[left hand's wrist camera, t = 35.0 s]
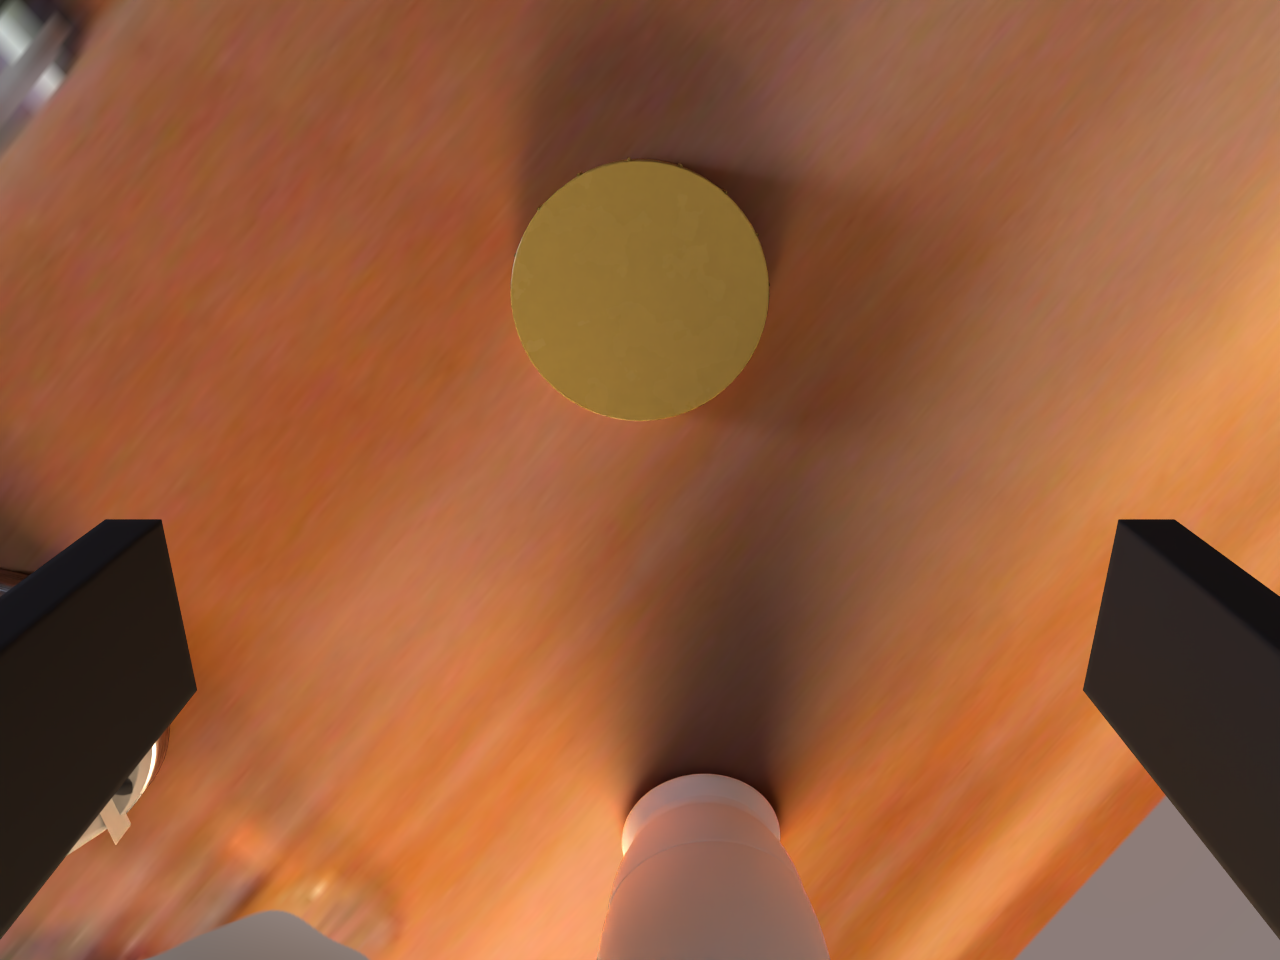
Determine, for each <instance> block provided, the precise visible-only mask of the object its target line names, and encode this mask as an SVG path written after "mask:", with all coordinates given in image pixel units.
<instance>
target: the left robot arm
mask: <svg viewBox="0 0 1280 960" xmlns="http://www.w3.org/2000/svg"><path fill="white" fill-rule="evenodd" d="M196 691H197V688H196V683H195V678H194V674H193V669H192V664H191V659H190V654H189V650H188V645H187V640H186V635H185V630H184V626H183V621H182V616H181V611H180V606H179V602H178V597H177V592H176V587H175V582H174V578H173V573H172V568H171V563H170V558H169V554H168V549H167V544H166V539H165V534H164V530H163V525H162V520H104V521H103V522H101V523H100V524H99V525H97V526H96V527H95V528H93V529H92V530H91V531H89V532H88V533H86V534H85V535H84V536H82V537H81V538H80V539H78V540H77V541H76V542H74V543H73V544H71V545H70V546H69V547H67V548H66V549H65V550H63V551H62V552H60V553H59V554H58V555H56V556H55V557H54V558H52V559H51V560H50V561H48V562H47V563H45V564H44V565H43V566H41V567H40V568H39V569H37V570H36V571H35V572H33V573H32V574H30V575H26V574H22V573H18V572H13V571H7V570H2V569H0V939H1V938H2V937H3V935H4V934H5V933H6V932H7V930H8V929H9V928H10V927H11V925H12V924H13V923H14V922H15V920H16V919H17V918H18V916H19V915H20V914H21V913H22V911H23V910H24V909H25V908H26V906H27V905H28V904H29V903H30V901H31V900H32V899H33V897H34V896H35V895H36V894H37V892H38V891H39V890H40V889H41V887H42V886H43V885H44V883H45V882H46V881H47V880H48V878H49V877H50V876H51V875H52V873H53V872H54V871H55V870H56V868H57V867H58V866H59V864H60V863H61V862H62V861H63V859H64V858H65V857H66V856H67V855H69V854H70V853H72V852H73V851H75V850H76V849H78V848H79V847H81V846H82V845H84V844H85V843H87V842H88V841H90V840H91V839H93V838H95V837H96V836H98V835H99V834H101V833H102V832H104V831H105V830H106V829H108V831H109V833H110V835H111V837H112V839H113V841H114V843H115V845H116V844H117V843H118V842H119V840H120V839H121V838H122V836H123V835H124V834H125V832H126V831H127V829H128V828H129V827H130V825H131V823H130V821H129V819H128V817H127V815H126V813H127V812H128V811H129V810H130V809H131V808H132V807H133V806H134V804H135V803H136V802H137V801H138V799H139V798H140V797H141V795H142V794H143V793H144V791H145V790H146V789H147V787H148V786H149V785H150V783H151V782H152V781H153V779H154V778H155V776H156V774H157V773H158V771H159V769H160V767H161V765H162V763H163V760H164V758H165V754H166V751H167V747H168V741H169V726H170V724H171V722H172V721H173V720H174V719H175V717H176V716H177V715H178V713H179V712H180V711H181V710H182V708H183V707H184V706H185V705H186V703H187V702H188V701H189V700H190V698H191V697H192V696H193V694H194V693H195V692H196ZM1083 691H1084V692H1085V693H1086V694H1087V696H1088V697H1089V698H1090V700H1091V701H1092V702H1093V703H1094V705H1095V706H1096V707H1097V708H1098V710H1099V711H1100V712H1101V713H1102V715H1103V716H1104V717H1105V719H1106V720H1107V721H1108V722H1109V724H1110V725H1111V726H1112V727H1113V729H1114V730H1115V731H1116V733H1117V734H1118V735H1119V736H1120V738H1121V739H1122V740H1123V741H1124V743H1125V744H1126V745H1127V746H1128V748H1129V749H1130V750H1131V752H1132V753H1133V754H1134V755H1135V757H1136V758H1137V759H1138V760H1139V762H1140V763H1141V764H1142V766H1143V767H1144V768H1145V769H1146V771H1147V772H1148V773H1149V774H1150V776H1151V777H1152V778H1153V779H1154V781H1155V782H1156V783H1157V785H1158V786H1159V787H1160V788H1161V790H1162V791H1163V792H1164V793H1165V795H1166V796H1167V797H1168V798H1169V800H1170V801H1171V802H1172V804H1173V805H1174V806H1175V807H1176V809H1177V810H1178V811H1179V812H1180V814H1181V815H1182V816H1183V817H1184V819H1185V820H1186V821H1187V823H1188V824H1189V825H1190V826H1191V828H1192V829H1193V830H1194V831H1195V833H1196V834H1197V835H1198V837H1199V838H1200V839H1201V840H1202V842H1203V843H1204V844H1205V845H1206V847H1207V848H1208V849H1209V850H1210V852H1211V853H1212V854H1213V856H1214V857H1215V858H1216V859H1217V861H1218V862H1219V863H1220V864H1221V866H1222V867H1223V868H1224V869H1225V871H1226V872H1227V873H1228V875H1229V876H1230V877H1231V878H1232V880H1233V881H1234V882H1235V883H1236V885H1237V886H1238V887H1239V889H1240V890H1241V891H1242V892H1243V894H1244V895H1245V896H1246V897H1247V899H1248V900H1249V901H1250V903H1251V904H1252V905H1253V906H1254V908H1255V909H1256V910H1257V911H1258V913H1259V914H1260V915H1261V916H1262V918H1263V919H1264V920H1265V922H1266V923H1267V924H1268V925H1269V927H1270V928H1271V929H1272V930H1273V932H1274V933H1275V934H1276V935H1277V937H1278V938H1279V939H1280V596H1278V595H1277V594H1275V593H1274V592H1273V591H1271V590H1270V589H1269V588H1267V587H1266V586H1265V585H1263V584H1262V583H1260V582H1259V581H1258V580H1256V579H1255V578H1254V577H1252V576H1251V575H1250V574H1248V573H1247V572H1245V571H1244V570H1243V569H1241V568H1240V567H1239V566H1237V565H1236V564H1235V563H1233V562H1232V561H1230V560H1229V559H1228V558H1226V557H1225V556H1224V555H1222V554H1221V553H1220V552H1218V551H1217V550H1215V549H1214V548H1213V547H1211V546H1210V545H1209V544H1207V543H1206V542H1204V541H1203V540H1202V539H1200V538H1199V537H1198V536H1196V535H1195V534H1194V533H1192V532H1191V531H1189V530H1188V529H1187V528H1185V527H1184V526H1183V525H1181V524H1180V523H1179V522H1177V521H1176V520H1118V525H1117V530H1116V534H1115V539H1114V544H1113V549H1112V554H1111V558H1110V563H1109V568H1108V573H1107V578H1106V582H1105V587H1104V592H1103V597H1102V602H1101V606H1100V611H1099V616H1098V621H1097V626H1096V630H1095V635H1094V640H1093V645H1092V650H1091V654H1090V659H1089V664H1088V669H1087V674H1086V678H1085V683H1084V688H1083Z"/></svg>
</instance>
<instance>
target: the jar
mask: <svg viewBox="0 0 1280 960" xmlns="http://www.w3.org/2000/svg"><path fill="white" fill-rule="evenodd" d="M622 849H623V854H624V857H623V859H622V861H621V863H620V866H619V868H618V871H617V874H616V877H615V880H614V883H613V887H612V891H611V895H610V900H609V906H608V913H607V916H606V919H605V922H604V926H603V930H602V934H601V938H600V943H599V949H598V955H597V960H830V957H829V953H828V949H827V946H826V942H825V939H824V936H823V933H822V930H821V927H820V924H819V922H818V919H817V917H816V914H815V912H814V909H813V907H812V905H811V903H810V901H809V898H808V896H807V894H806V892H805V891H804V888H803V885H802V882H801V879H800V877H799V875H798V872H797V870H796V868H795V866H794V864H793V862H792V860H791V858H790V856H789V855H788V853H787V851H786V850H785V848H784V847H783V845H782V844H781V843H780V828H779V823H778V819H777V816H776V814H775V812H774V810H773V808H772V806H771V805H770V804H769V802H768V801H767V800H766V799H765V797H764V796H763V795H762V794H760V793H759V792H758V791H757V790H756V789H754V788H753V787H751V786H749V785H748V784H746V783H744V782H742V781H740V780H737V779H734V778H731V777H728V776H723V775H716V774H692V775H686V776H681V777H678V778H674V779H672V780H669V781H666V782H664V783H662V784H660V785H658V786H657V787H655V788H653V789H652V790H650V791H649V792H648V793H646V794H645V795H644V796H643V797H642V798H641V799H640V800H639V801H638V802H637V803H636V804H635V806H634V807H633V808H632V810H631V811H630V813H629V815H628V817H627V819H626V822H625V825H624V828H623V833H622Z"/></svg>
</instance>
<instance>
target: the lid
mask: <svg viewBox="0 0 1280 960" xmlns="http://www.w3.org/2000/svg"><path fill="white" fill-rule="evenodd" d="M727 194H728V192H727V191H726V190H724V189H723V188H722V189H720V188H719V187H717V186H716V185H715V184H713V183H712V182H710V181H709V180H707V179H706V178H704V177H703V176H701V175H699V174H698V173H696V172H694V171H692V170H690V169H688V168H685V167H683V165H682V164H680V163H678V165H676V164H673V163H670V162H664V161H659V160H653V159H631V157H628V158H627V160H620V161H615V162H611V163H607V164H603V165H601V166H598V167H595V168H593V169H590V170H588V171H586V172H584V173H582V171H581V172H580V173H578V174H577V177H575V178H574V179H572V180H571V181H570V182H568V183H567V184H566V185H564V186H563V187H562V188H560V189H559V190H558V191H556V192H555V193H554V194H553V195H552V196H551V197H550V198H549V199H548V200H547V201H546V202H545V203H544V204H542V205H541V206H539V207H538V208H537V210H538V212H537V213H536V214H535V216H534V217H533V218H532V220H531V222H530V224H529V225H528V227H527V229H526V230H525V232H524V234H523V237H522V239H521V242H520V244H519V246H518V249H517V252H516V253H515V255H514V257H515V260H514V264H513V270H512V277H511V307H512V312H513V318H514V322H515V325H516V329H517V333H518V335H519V338H520V340H521V343H522V345H523V347H524V349H525V351H526V353H527V355H528V356H529V358H530V360H531V362H532V363H533V365H534V366H535V367H536V369H537V370H538V371H539V373H540V374H541V375H542V376H543V377H544V379H545V380H546V381H547V382H548V383H549V384H550V385H551V386H552V387H553V388H554V389H556V390H557V391H558V392H559V393H561V394H562V395H563V396H564V397H566V398H567V399H569V400H571V401H572V402H574V403H575V404H577V405H579V406H581V407H583V408H585V409H587V410H589V411H592V412H594V413H597V414H600V415H603V416H607V417H610V418H615V419H621V420H629V421H649V420H660V419H664V418H669V417H674V416H677V415H680V414H683V413H686V412H689V411H691V410H693V409H695V408H697V407H699V406H701V405H703V404H705V403H706V402H708V401H709V400H711V399H712V398H714V397H715V396H717V395H718V394H719V393H721V392H722V391H723V390H724V389H725V388H726V387H728V386H729V385H730V384H731V383H732V382H733V381H734V379H735V378H736V377H737V376H738V375H739V374H740V373H741V372H742V370H743V369H744V367H745V366H746V364H747V363H748V362H749V360H750V359H751V357H752V355H753V353H754V351H755V349H756V347H757V345H758V343H759V340H760V338H761V335H762V332H763V330H764V326H765V321H766V317H767V313H768V304H769V286H770V283H769V276H768V270H767V264H766V260H765V256H764V253H763V250H762V246H761V244H760V241H759V239H758V237H757V236H759V235H758V233H757V232H756V231H755V230H754V228H753V227H752V225H751V224H750V222H749V220H748V219H747V217H746V216H745V214H744V213H743V212H742V210H741V209H740V208H739V207H738V206H737V204H736V203H735V202H734V201H733V200H732V199H731V198H730V197H729V196H728V195H727Z"/></svg>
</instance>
